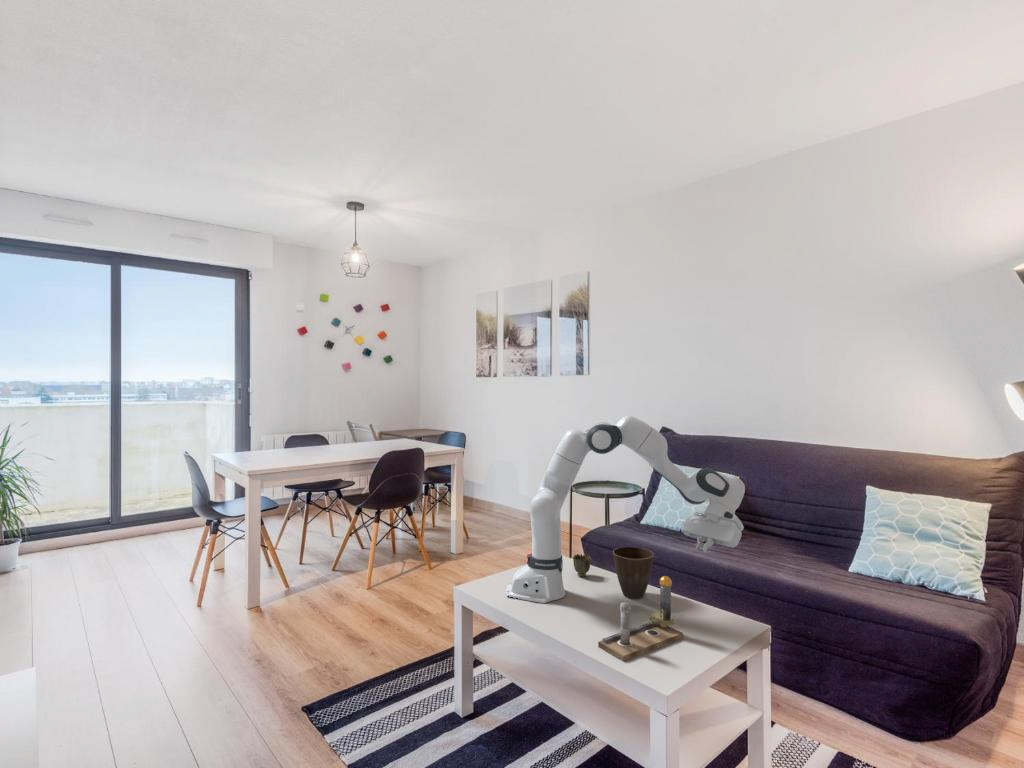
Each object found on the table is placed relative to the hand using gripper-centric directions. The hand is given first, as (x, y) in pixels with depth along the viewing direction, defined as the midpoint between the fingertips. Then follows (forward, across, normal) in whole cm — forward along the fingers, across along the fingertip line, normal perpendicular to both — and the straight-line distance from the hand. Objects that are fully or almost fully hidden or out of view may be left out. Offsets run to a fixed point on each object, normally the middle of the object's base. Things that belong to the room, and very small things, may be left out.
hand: (700, 550), depth 171 cm
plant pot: (+19, -27, +14) cm, 36 cm away
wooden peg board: (+36, 0, -4) cm, 37 cm away
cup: (+20, -53, +12) cm, 58 cm away
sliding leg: (+27, -1, +2) cm, 27 cm away
